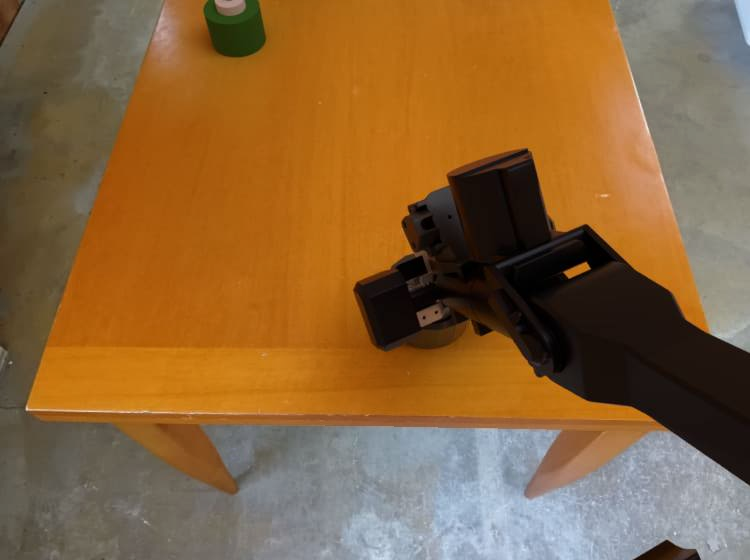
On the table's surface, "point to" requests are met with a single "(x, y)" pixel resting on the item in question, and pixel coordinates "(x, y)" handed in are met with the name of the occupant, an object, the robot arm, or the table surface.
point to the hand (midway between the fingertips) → (426, 265)
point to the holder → (436, 326)
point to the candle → (235, 26)
